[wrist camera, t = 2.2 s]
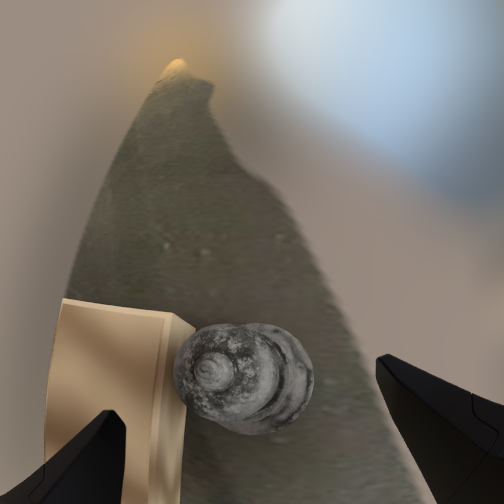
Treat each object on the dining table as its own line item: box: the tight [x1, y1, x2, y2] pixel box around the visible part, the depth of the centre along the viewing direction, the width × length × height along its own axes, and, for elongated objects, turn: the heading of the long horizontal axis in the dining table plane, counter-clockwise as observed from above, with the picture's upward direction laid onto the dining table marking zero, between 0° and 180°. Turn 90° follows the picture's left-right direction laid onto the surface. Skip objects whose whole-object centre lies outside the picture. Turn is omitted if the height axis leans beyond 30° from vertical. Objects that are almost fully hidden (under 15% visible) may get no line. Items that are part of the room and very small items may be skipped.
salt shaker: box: [173, 322, 314, 435], centre depth 11 cm, size 6×6×12 cm
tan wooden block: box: [44, 298, 196, 504], centre depth 13 cm, size 20×8×4 cm, turn 175°
